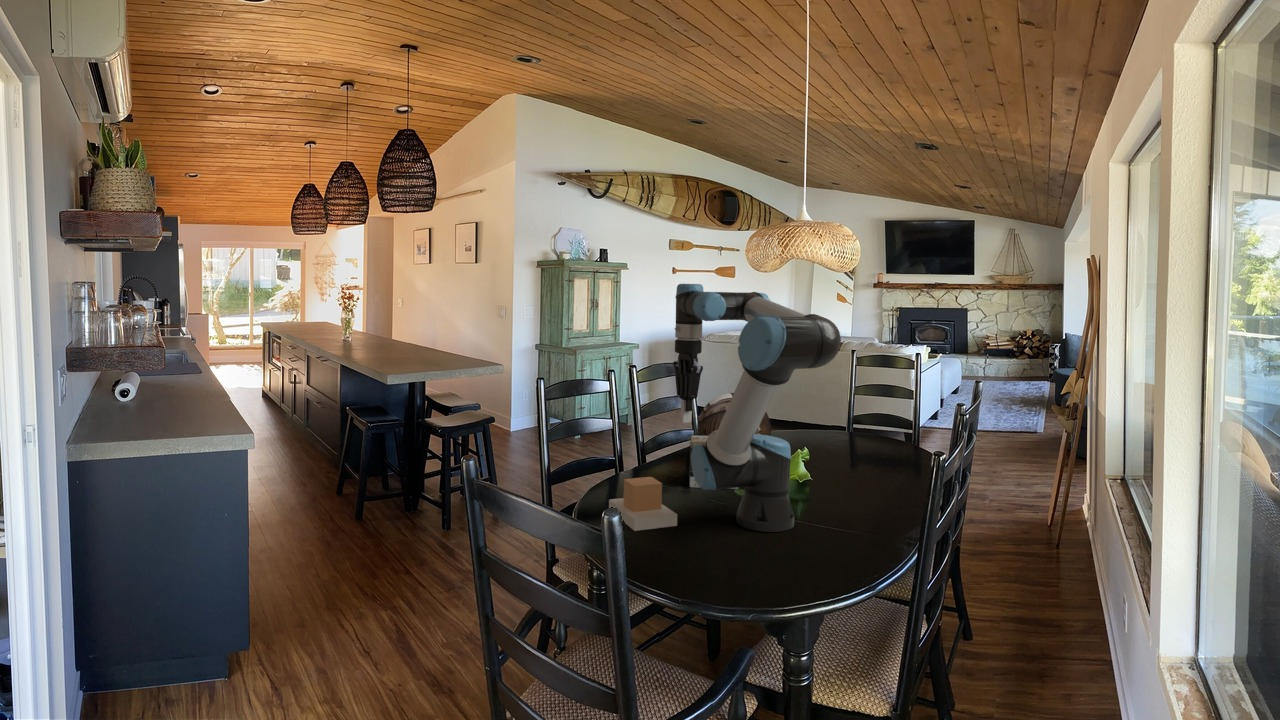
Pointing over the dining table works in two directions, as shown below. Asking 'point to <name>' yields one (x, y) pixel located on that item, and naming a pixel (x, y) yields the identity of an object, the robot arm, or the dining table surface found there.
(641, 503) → the plug
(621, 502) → the socket plate
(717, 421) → the sphere
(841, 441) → the dining table surface
